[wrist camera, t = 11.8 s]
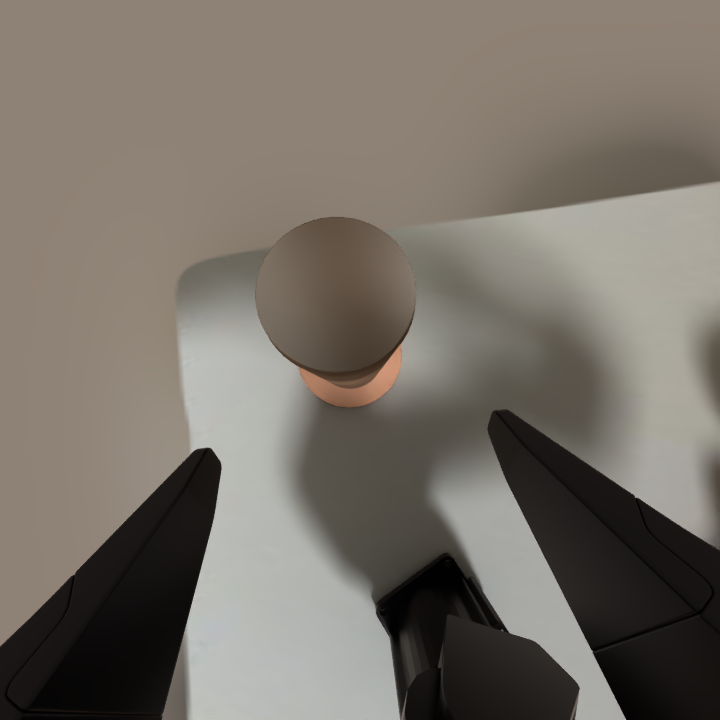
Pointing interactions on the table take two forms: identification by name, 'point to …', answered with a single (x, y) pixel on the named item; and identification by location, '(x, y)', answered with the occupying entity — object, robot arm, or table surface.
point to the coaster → (356, 395)
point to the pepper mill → (336, 299)
